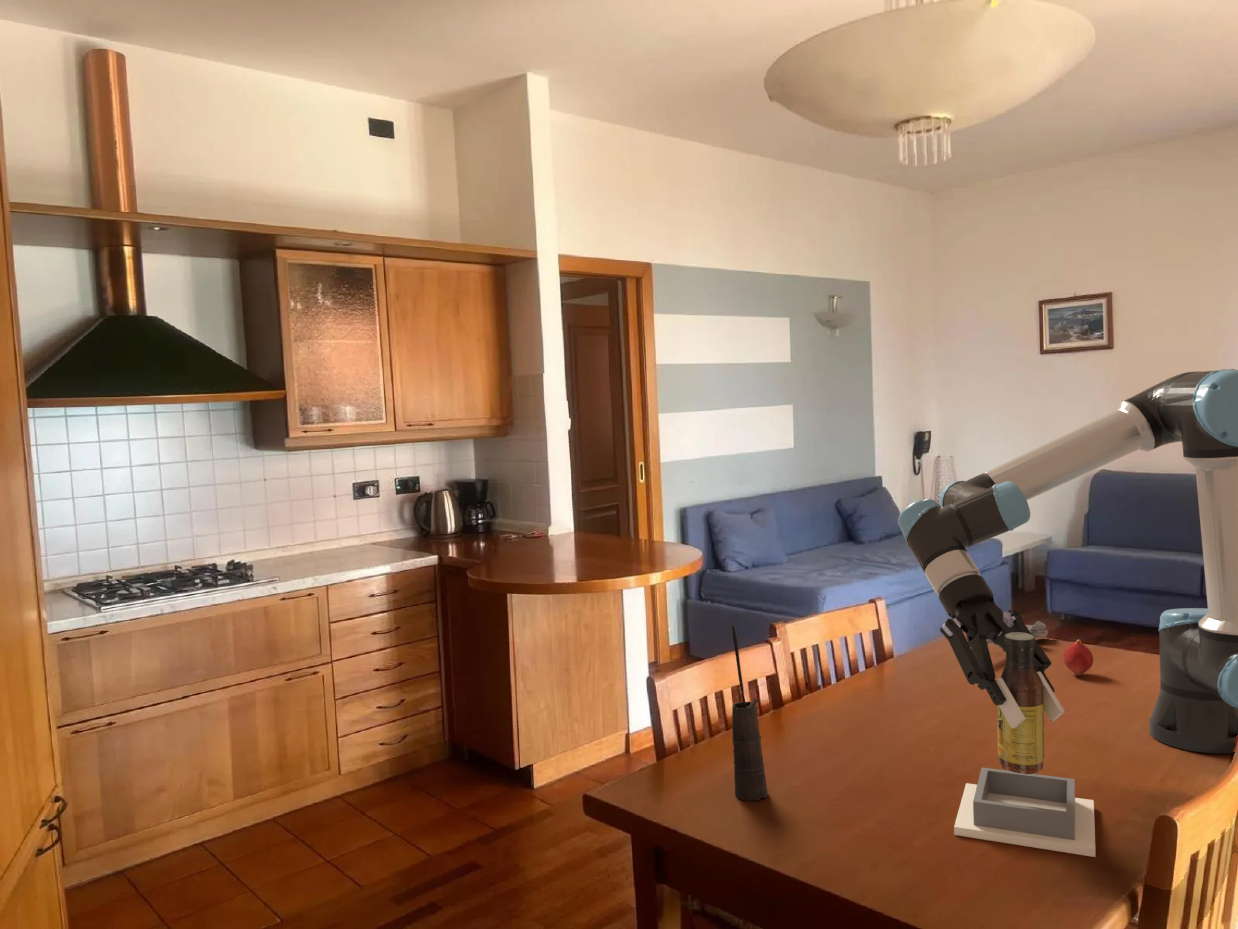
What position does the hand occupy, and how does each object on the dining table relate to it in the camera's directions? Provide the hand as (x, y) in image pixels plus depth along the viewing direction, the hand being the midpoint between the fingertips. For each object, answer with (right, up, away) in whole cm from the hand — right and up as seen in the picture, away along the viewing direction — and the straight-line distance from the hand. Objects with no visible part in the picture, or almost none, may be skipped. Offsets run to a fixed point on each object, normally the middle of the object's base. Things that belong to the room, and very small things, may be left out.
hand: (1038, 719), depth 131 cm
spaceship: (+34, -9, +90) cm, 97 cm away
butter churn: (-37, -17, +19) cm, 45 cm away
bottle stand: (0, -16, +4) cm, 17 cm away
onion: (+41, -10, +70) cm, 82 cm away
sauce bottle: (-1, -8, +4) cm, 9 cm away
